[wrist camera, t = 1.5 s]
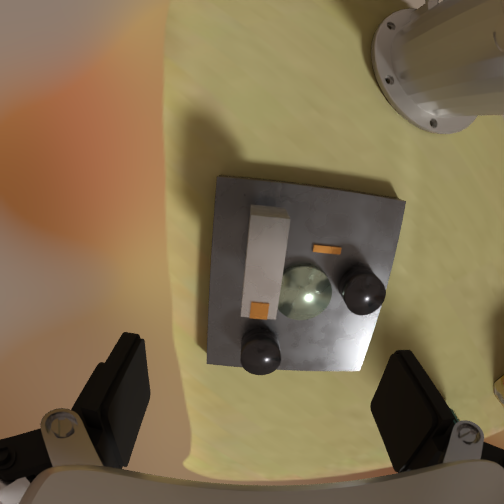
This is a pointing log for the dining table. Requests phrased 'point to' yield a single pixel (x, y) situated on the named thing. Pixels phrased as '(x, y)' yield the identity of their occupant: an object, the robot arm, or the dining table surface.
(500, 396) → the candy box
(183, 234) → the dining table surface
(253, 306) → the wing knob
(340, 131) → the dining table surface
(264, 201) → the base
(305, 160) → the dining table surface
